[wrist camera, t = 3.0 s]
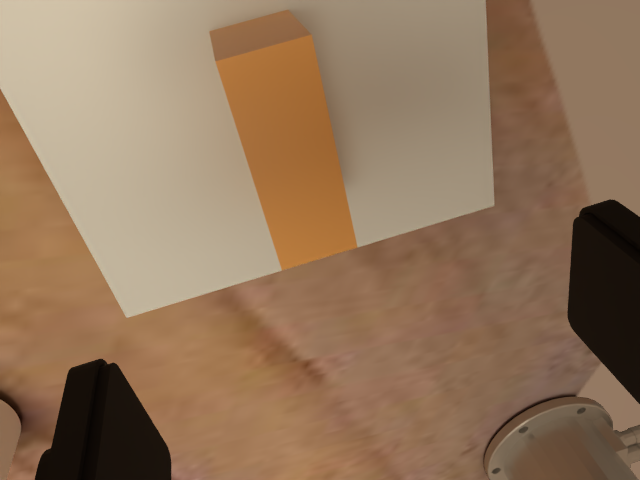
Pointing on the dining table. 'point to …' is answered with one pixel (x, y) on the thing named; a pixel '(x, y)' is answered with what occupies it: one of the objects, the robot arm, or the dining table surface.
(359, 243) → the lid
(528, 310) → the dining table surface
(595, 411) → the robot arm
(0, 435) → the can
